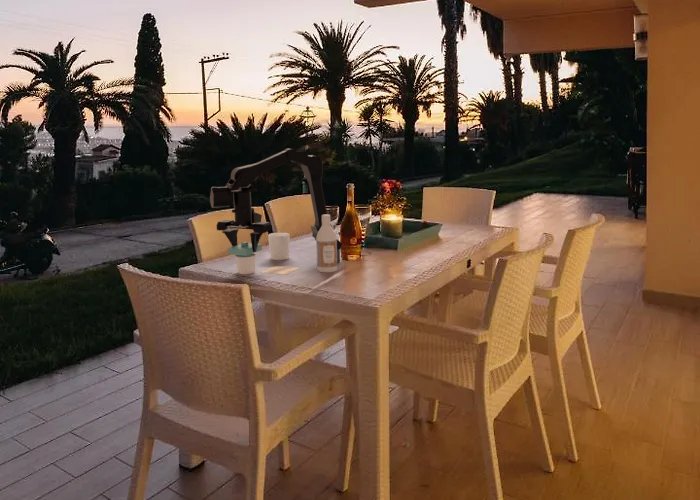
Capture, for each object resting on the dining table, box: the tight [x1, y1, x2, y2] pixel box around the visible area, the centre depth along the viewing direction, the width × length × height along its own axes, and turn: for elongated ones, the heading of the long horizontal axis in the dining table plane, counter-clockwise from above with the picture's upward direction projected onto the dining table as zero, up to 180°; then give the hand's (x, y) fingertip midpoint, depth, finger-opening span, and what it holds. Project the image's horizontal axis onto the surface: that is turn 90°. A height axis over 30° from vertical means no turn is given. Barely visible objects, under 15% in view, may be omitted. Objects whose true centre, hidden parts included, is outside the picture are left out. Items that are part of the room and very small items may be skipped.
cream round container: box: [234, 253, 256, 275], centre depth 205 cm, size 7×7×7 cm
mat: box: [260, 265, 301, 276], centre depth 207 cm, size 10×10×1 cm
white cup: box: [268, 232, 290, 261], centre depth 226 cm, size 8×8×10 cm
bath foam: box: [315, 213, 338, 273], centre depth 205 cm, size 7×7×20 cm
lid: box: [227, 241, 263, 256], centre depth 204 cm, size 7×10×3 cm
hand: (245, 251), depth 204 cm, fingers closed on lid, 7 cm apart
